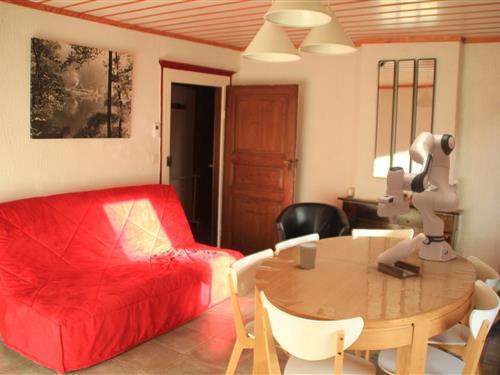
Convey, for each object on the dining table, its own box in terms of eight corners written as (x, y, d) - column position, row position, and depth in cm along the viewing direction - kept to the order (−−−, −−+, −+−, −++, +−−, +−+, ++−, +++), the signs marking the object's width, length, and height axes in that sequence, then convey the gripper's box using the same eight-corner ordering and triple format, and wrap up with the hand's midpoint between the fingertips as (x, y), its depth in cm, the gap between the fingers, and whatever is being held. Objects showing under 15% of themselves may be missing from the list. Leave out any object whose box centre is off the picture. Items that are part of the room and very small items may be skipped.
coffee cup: (318, 265, 277) (319, 244, 275) (313, 270, 269) (313, 248, 267) (302, 263, 281) (302, 242, 279) (296, 267, 273) (297, 246, 271)
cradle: (396, 267, 277) (396, 259, 276) (419, 275, 263) (419, 266, 263) (377, 270, 270) (378, 262, 270) (400, 279, 257) (401, 270, 256)
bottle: (386, 271, 274) (428, 245, 254) (375, 262, 273) (416, 236, 253) (389, 260, 280) (430, 235, 259) (378, 252, 279) (418, 226, 259)
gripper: (403, 195, 274) (402, 221, 276) (375, 198, 264) (374, 224, 266) (413, 197, 269) (411, 223, 271) (384, 200, 258) (383, 226, 260)
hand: (392, 223), depth 268 cm, fingers closed
